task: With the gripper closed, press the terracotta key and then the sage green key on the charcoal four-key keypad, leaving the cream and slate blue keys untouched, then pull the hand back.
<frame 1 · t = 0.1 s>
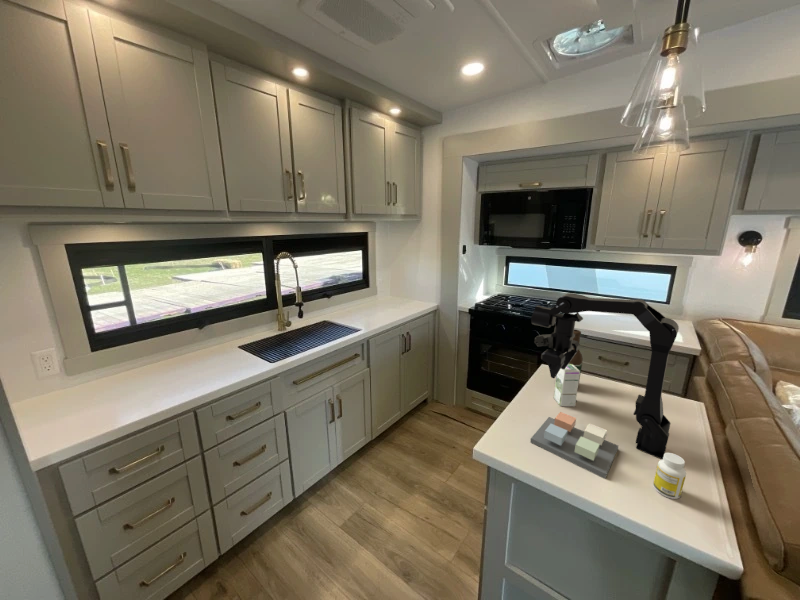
hand: (557, 373, 110), 15 cm above the counter, tool pointing down, fingers open, 9 cm apart
slate blue key: (555, 434, 95), point 4 cm above the counter, slide at 0.0 cm
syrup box: (563, 402, 119), on the counter
keypad base: (573, 446, 96), on the counter
beer bottle: (567, 385, 131), on the counter
cream key: (595, 433, 95), point 4 cm above the counter, slide at 0.0 cm
supplement bottle: (665, 491, 81), on the counter
terracotta key: (565, 421, 101), point 4 cm above the counter, slide at 0.0 cm
sage green key: (587, 448, 89), point 4 cm above the counter, slide at 0.0 cm
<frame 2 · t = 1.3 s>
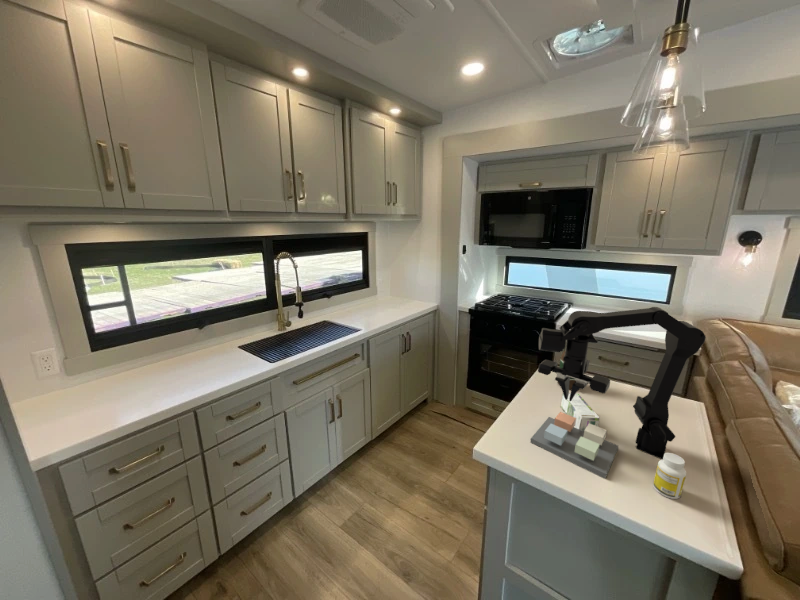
hand: (568, 399, 99), 12 cm above the counter, tool pointing down, fingers closed
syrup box: (568, 399, 115), point 3 cm above the counter
everything else where it was.
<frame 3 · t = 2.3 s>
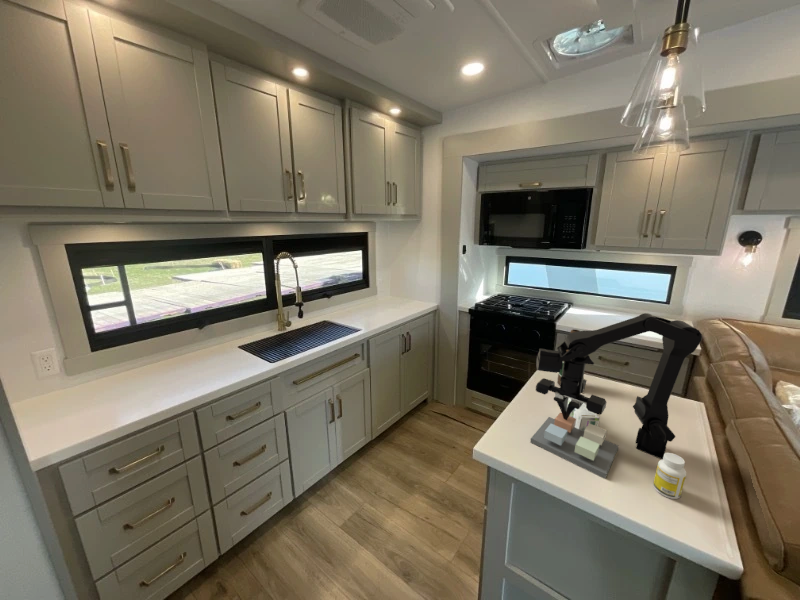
hand: (565, 418, 101), 5 cm above the counter, tool pointing down, fingers closed, pressing on terracotta key
terracotta key: (565, 422, 101), point 4 cm above the counter, slide at 0.3 cm, touching gripper
everything else where it was.
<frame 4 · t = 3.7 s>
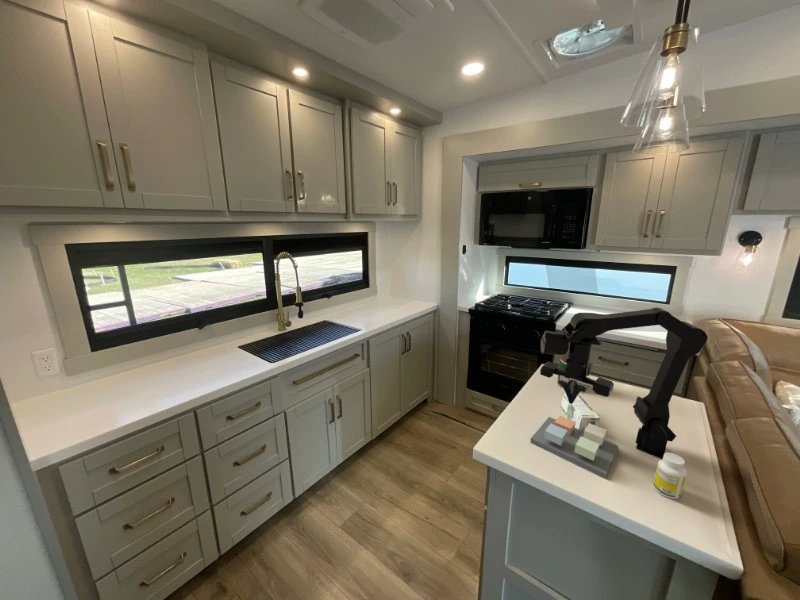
hand: (571, 403, 97), 12 cm above the counter, tool pointing down, fingers closed
terracotta key: (564, 425, 101), point 3 cm above the counter, slide at 1.3 cm
everything else where it was.
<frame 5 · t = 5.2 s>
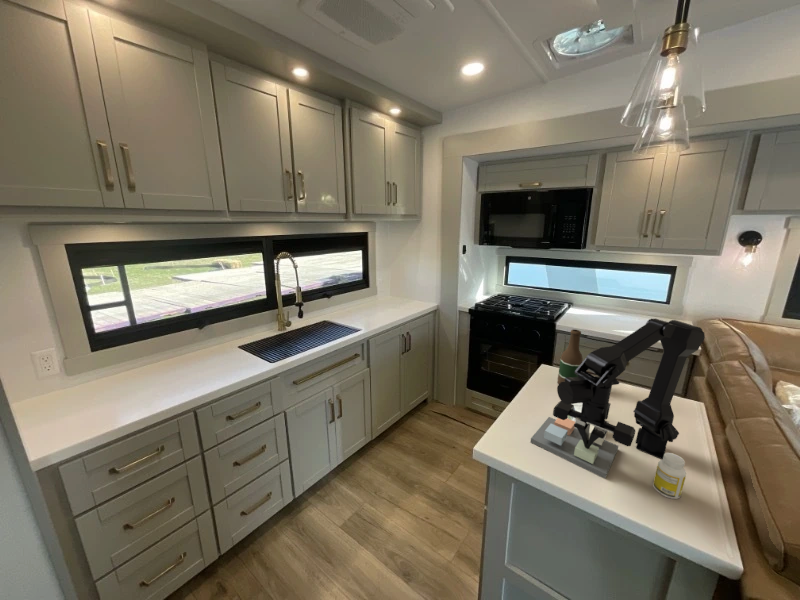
hand: (587, 447, 89), 4 cm above the counter, tool pointing down, fingers closed, pressing on sage green key
sage green key: (586, 451, 90), point 3 cm above the counter, slide at 1.1 cm, touching gripper
everything else where it was.
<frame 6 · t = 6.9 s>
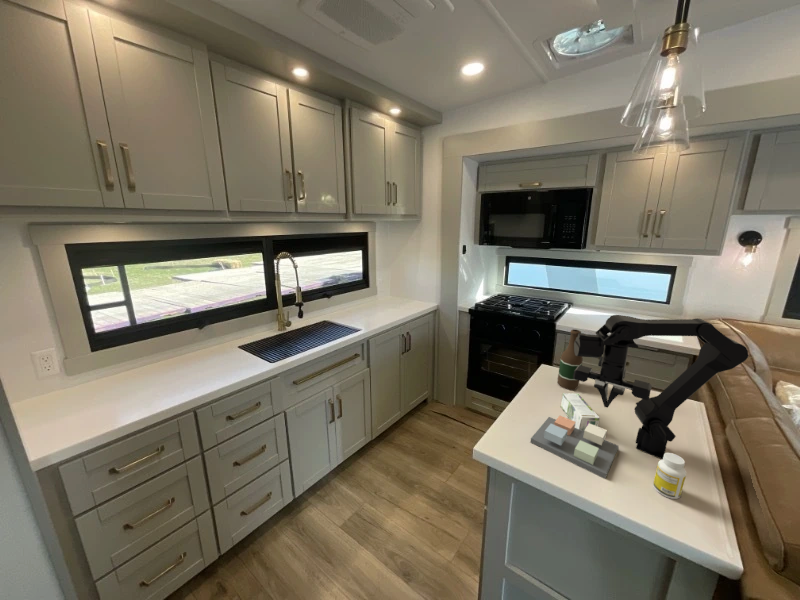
hand: (606, 406, 96), 12 cm above the counter, tool pointing down, fingers closed
sage green key: (586, 452, 90), point 3 cm above the counter, slide at 1.3 cm
everything else where it was.
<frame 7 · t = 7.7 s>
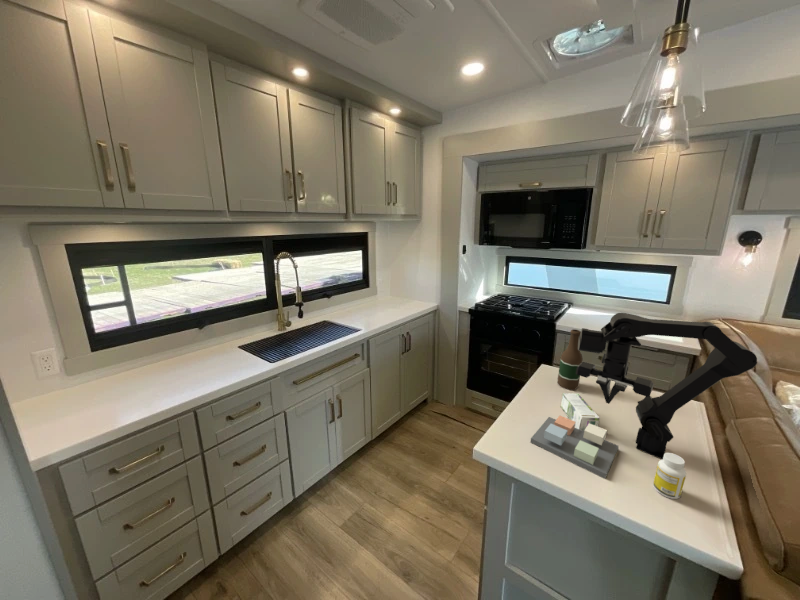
hand: (607, 402, 97), 12 cm above the counter, tool pointing down, fingers closed
nothing on the counter moved.
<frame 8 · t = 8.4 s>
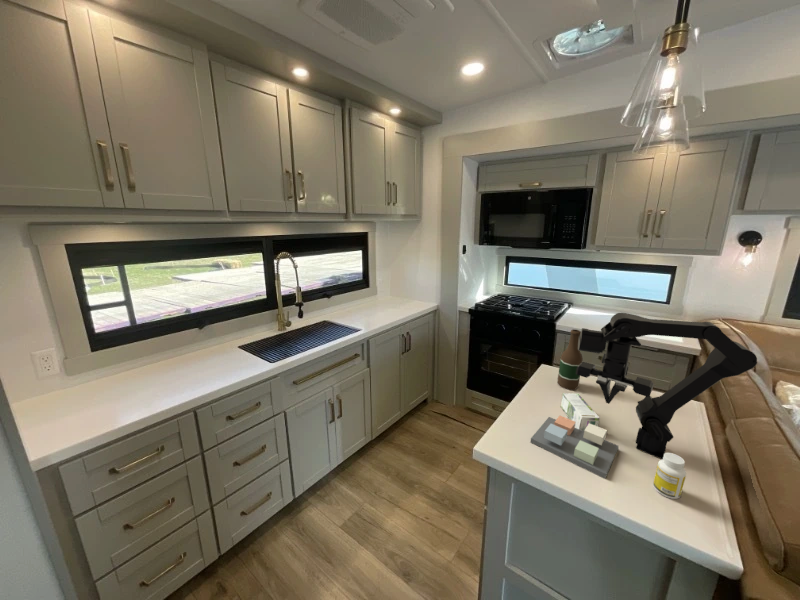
hand: (607, 402, 97), 12 cm above the counter, tool pointing down, fingers closed
nothing on the counter moved.
at the end: terracotta key slide at 1.3 cm; sage green key slide at 1.3 cm; slate blue key slide at 0.0 cm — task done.
